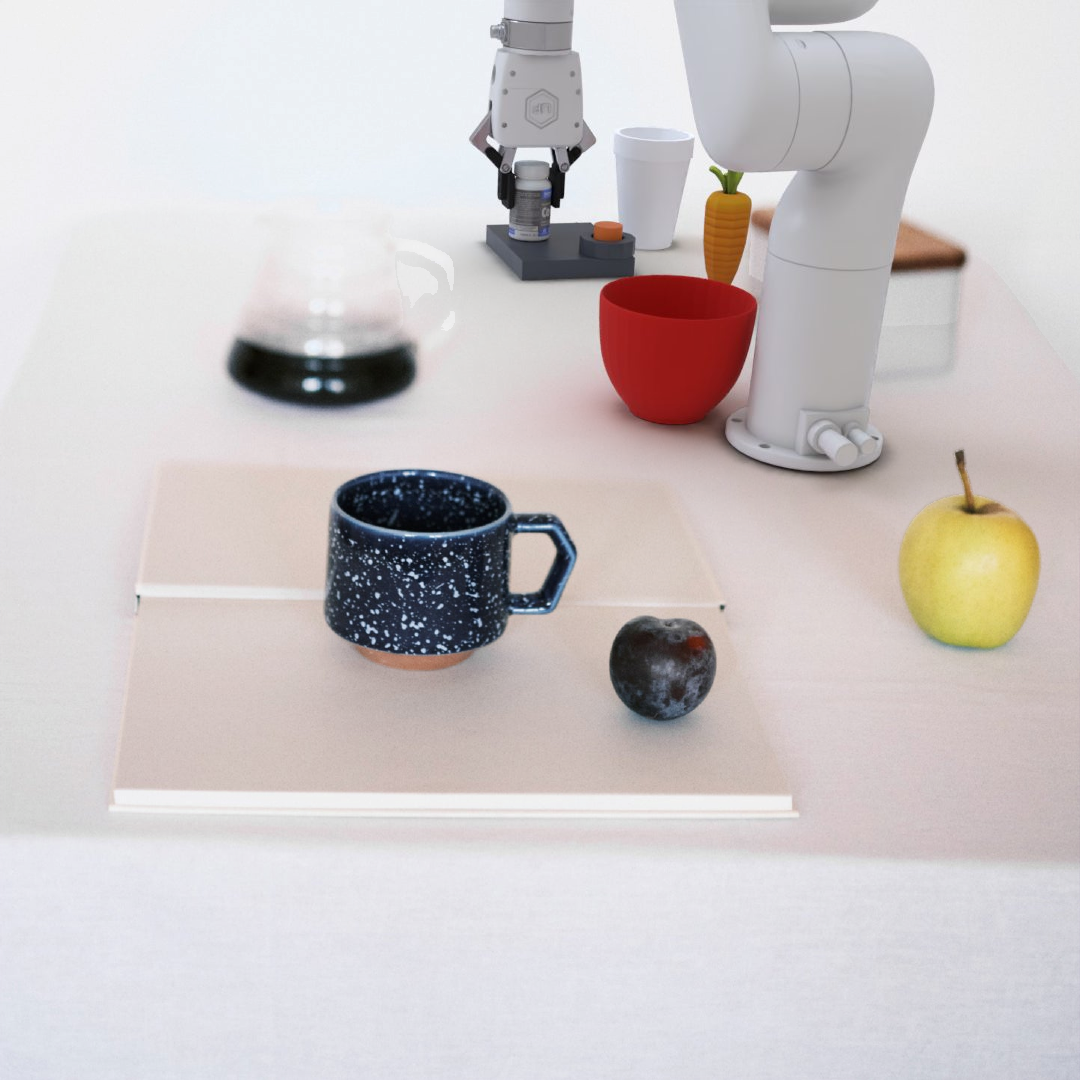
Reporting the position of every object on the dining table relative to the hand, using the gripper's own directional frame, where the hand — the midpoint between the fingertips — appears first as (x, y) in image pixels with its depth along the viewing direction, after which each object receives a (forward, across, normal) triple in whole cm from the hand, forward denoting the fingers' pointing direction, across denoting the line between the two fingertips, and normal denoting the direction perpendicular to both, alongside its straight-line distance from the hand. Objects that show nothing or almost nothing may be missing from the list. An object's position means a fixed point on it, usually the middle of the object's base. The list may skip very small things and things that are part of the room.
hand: (530, 204), depth 157 cm
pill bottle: (+4, 0, 0) cm, 4 cm away
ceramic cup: (+6, 0, -48) cm, 48 cm away
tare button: (+2, +7, -7) cm, 10 cm away
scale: (+6, +3, -2) cm, 7 cm away
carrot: (+6, +16, -19) cm, 26 cm away
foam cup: (+6, +16, +4) cm, 18 cm away
